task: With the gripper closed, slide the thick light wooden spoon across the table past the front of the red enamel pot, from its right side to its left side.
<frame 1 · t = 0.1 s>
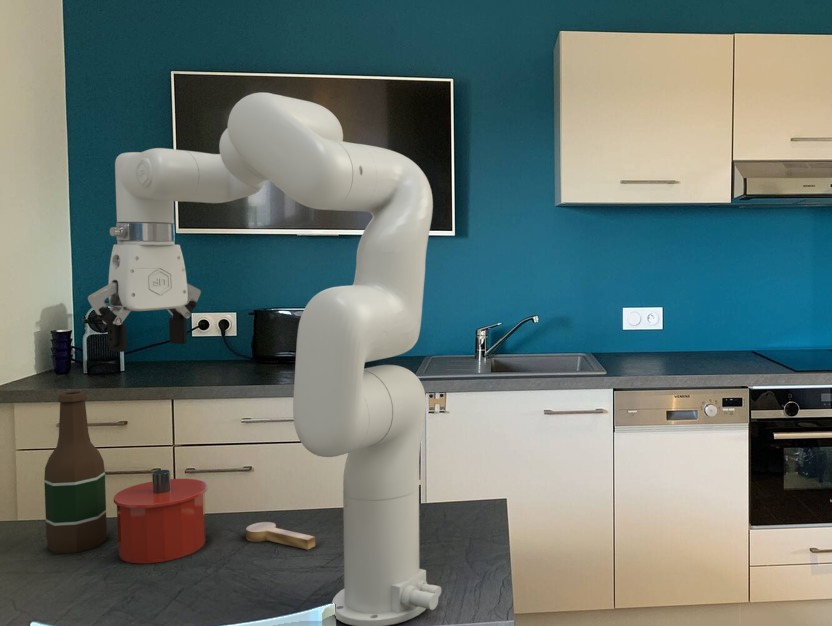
hand: (149, 347, 119), 31 cm above the counter, tool pointing down, fingers open, 9 cm apart
pot: (163, 548, 120), on the counter
beer bottle: (77, 546, 121), on the counter
spoon: (276, 540, 124), on the counter
pot lid: (161, 494, 119), point 8 cm above the counter, touching pot
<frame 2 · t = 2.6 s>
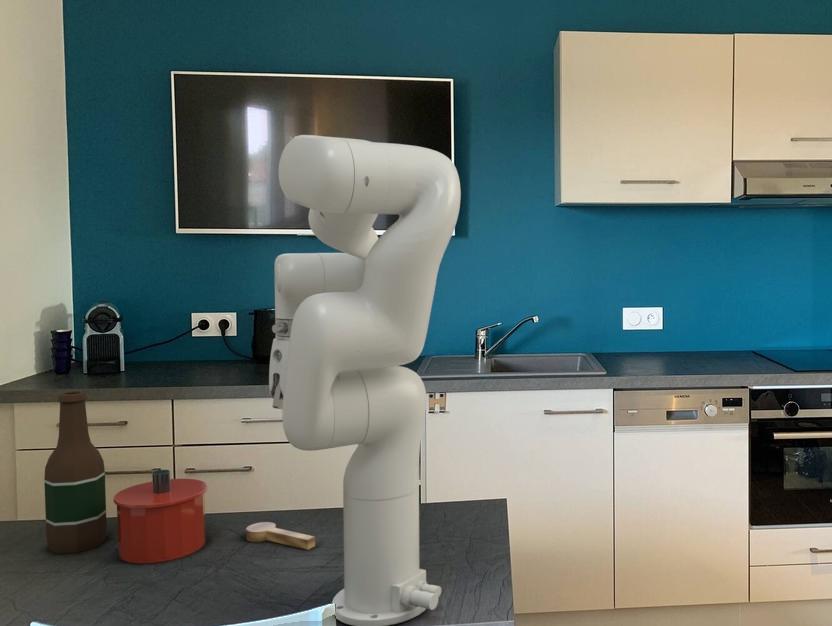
hand: (301, 438, 128), 15 cm above the counter, tool pointing down, fingers closed
nothing on the counter moved.
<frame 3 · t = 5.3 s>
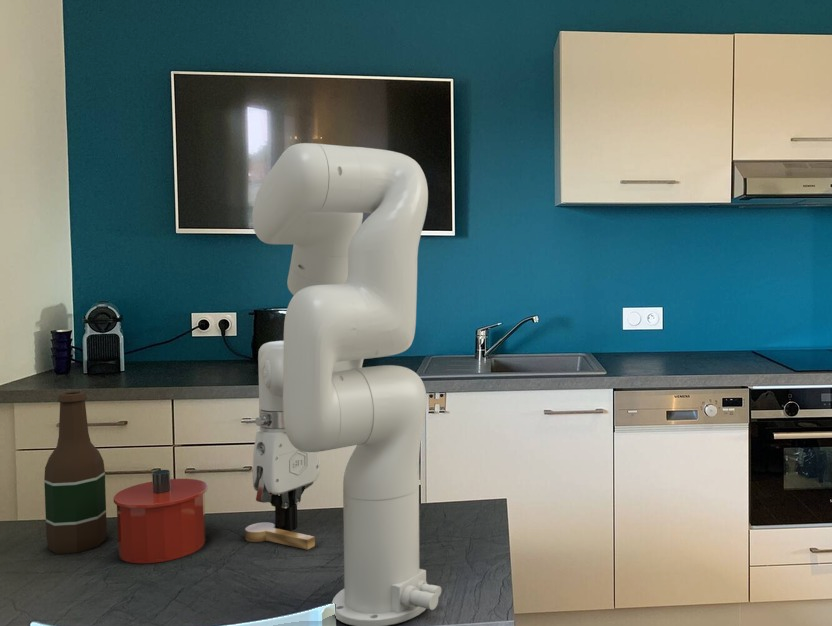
hand: (286, 528, 126), 1 cm above the counter, tool pointing down, fingers closed
spoon: (275, 540, 123), on the counter, touching gripper
everything else where it was.
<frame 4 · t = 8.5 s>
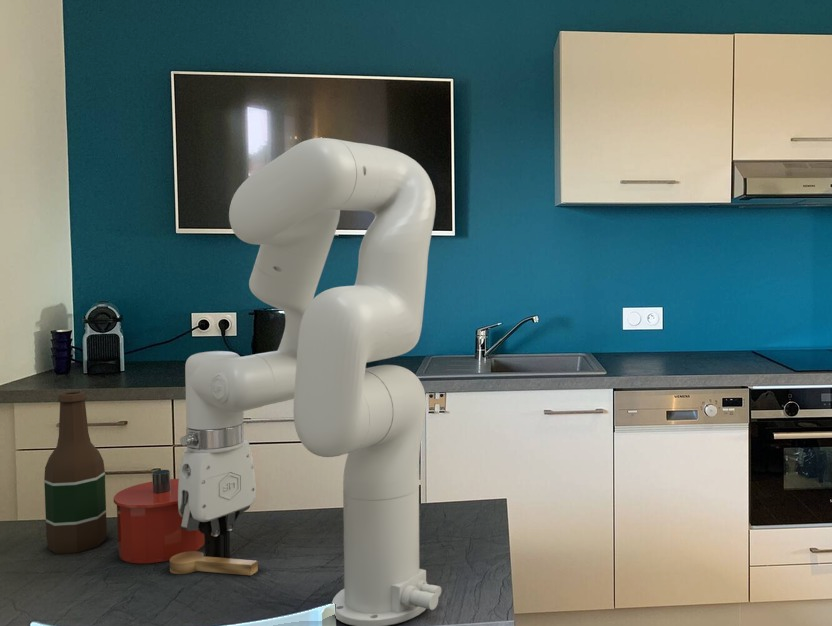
hand: (217, 558, 115), 1 cm above the counter, tool pointing down, fingers closed
spoon: (207, 569, 112), on the counter, touching gripper
everything else where it was.
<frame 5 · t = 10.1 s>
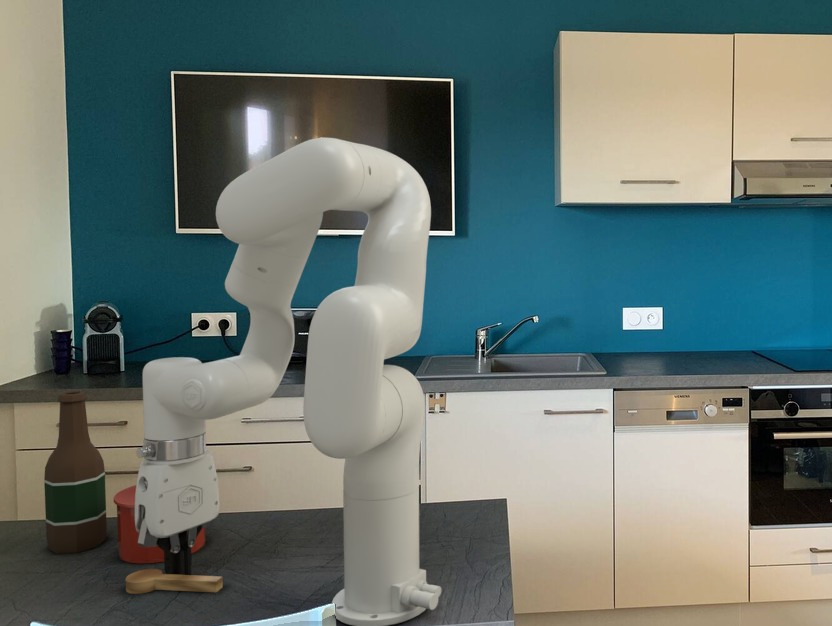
hand: (178, 575, 109), 1 cm above the counter, tool pointing down, fingers closed
spoon: (167, 587, 106), on the counter, touching gripper
everything else where it was.
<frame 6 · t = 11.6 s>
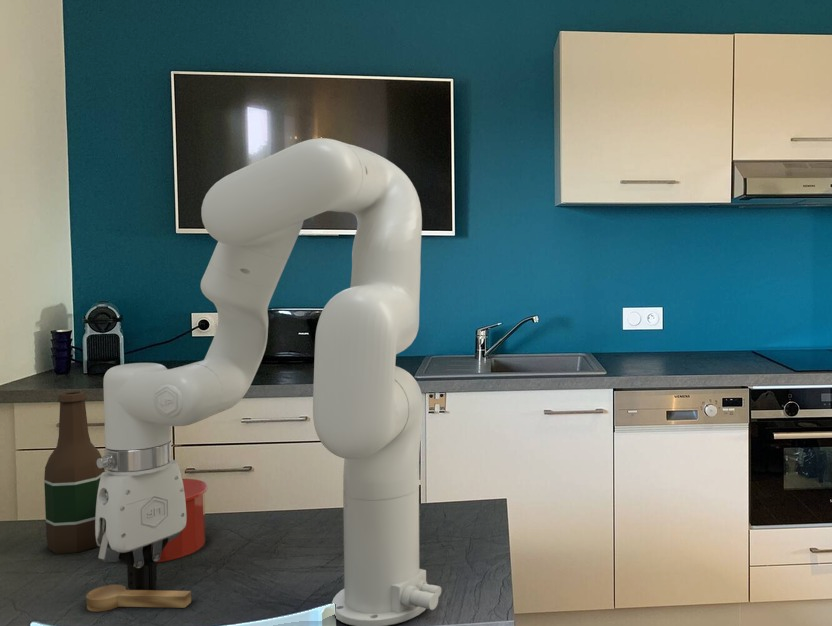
hand: (142, 591, 104), 1 cm above the counter, tool pointing down, fingers closed
spoon: (131, 604, 102), on the counter, touching gripper
everything else where it was.
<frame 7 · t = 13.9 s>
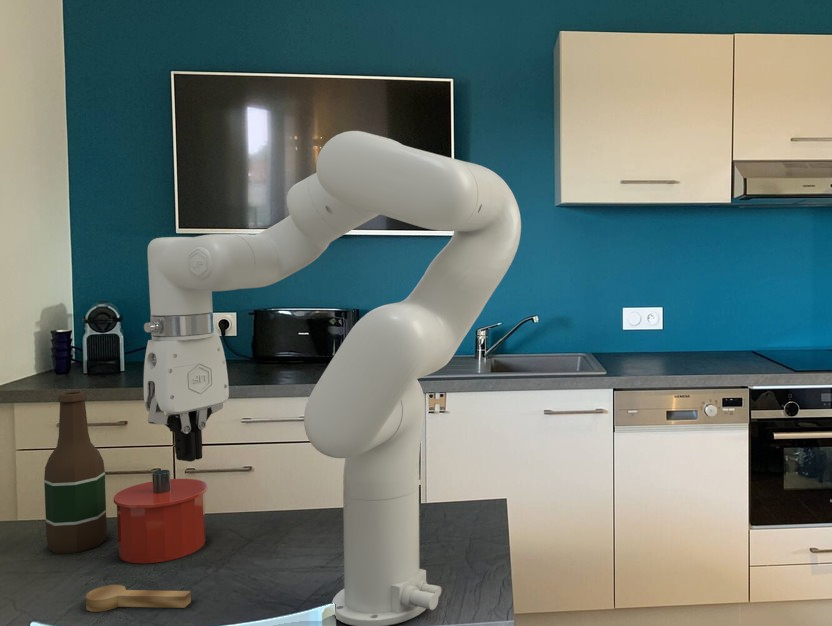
hand: (189, 459, 107), 17 cm above the counter, tool pointing down, fingers closed
spoon: (131, 604, 101), on the counter
everything else where it was.
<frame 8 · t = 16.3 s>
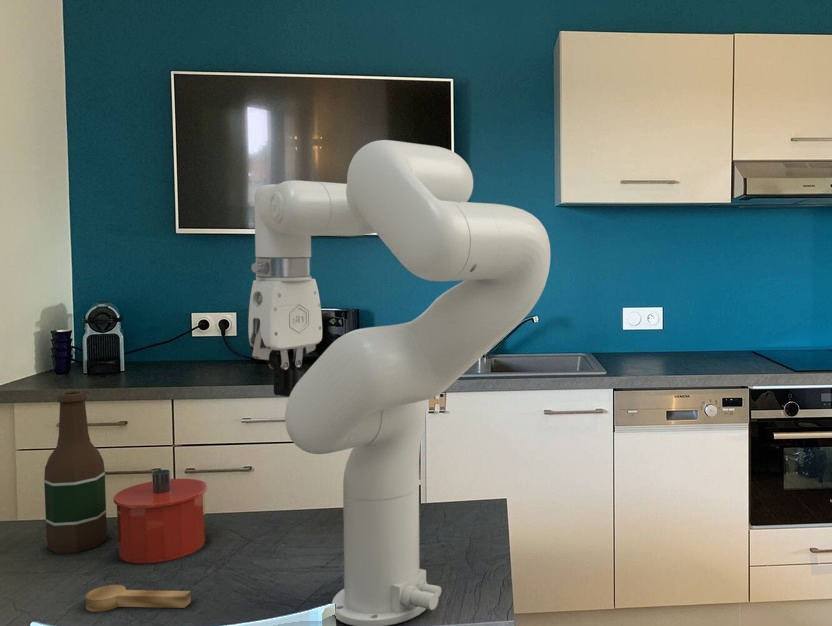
hand: (285, 394, 114), 25 cm above the counter, tool pointing down, fingers closed
nothing on the counter moved.
at the end: spoon inside the target area (3.3 cm from its centre), on the counter; spoon moved 24.2 cm from its start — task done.
